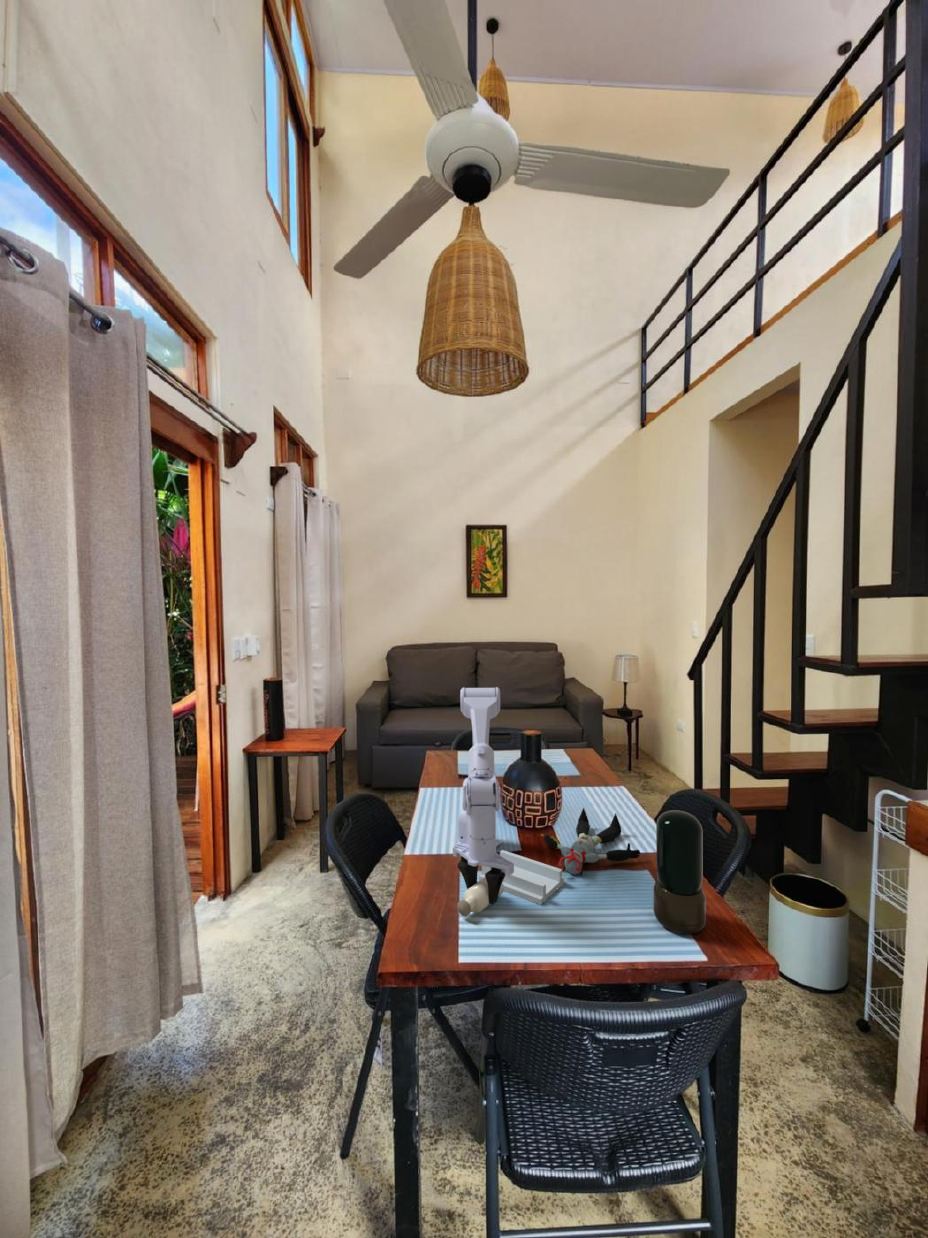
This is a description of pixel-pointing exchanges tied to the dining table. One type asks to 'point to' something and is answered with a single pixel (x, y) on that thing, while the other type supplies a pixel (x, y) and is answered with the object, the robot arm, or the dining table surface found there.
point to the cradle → (529, 878)
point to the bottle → (476, 898)
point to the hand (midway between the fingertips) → (482, 898)
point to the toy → (589, 846)
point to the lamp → (679, 873)
